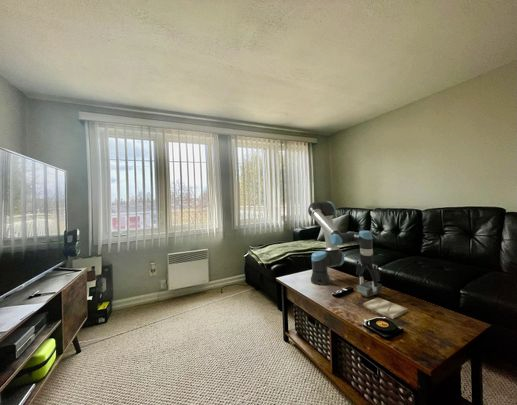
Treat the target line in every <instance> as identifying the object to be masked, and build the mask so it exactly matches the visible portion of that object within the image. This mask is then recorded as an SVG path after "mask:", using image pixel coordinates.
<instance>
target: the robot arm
mask: <svg viewBox="0 0 517 405" xmlns="http://www.w3.org/2000/svg"><path fill="white" fill-rule="evenodd" d="M307 209H308V210H307V212H308V215H309V216H310V218H311V219H313V220H315V222H316V223H317V224H318V225H319V226H320V227H321V228H322V229H323V236H324V241H325V245H326V246H325V247H326V248H325V249H324V250H319V251H318V250H317V251H314V252H313V253H312V254H311V268H312V270H311V271H312V272H311V276H310V283H312V282H313V283H315V284H314V285H317V284H320V285H319V286H326V284H327V285H329V283H330V284H331V277H330V275H329V272H328V268H333V267H339V266H342V265H343V264H344V263H345V255H344V253H343V251H342V250H340V248H339V246H341V245H343V246H344V245H348V244H349V245H350V244H356V245H359V259H360V260H357V261H356V268H355V269H356V270H355V275H356V276H358V281H359V285H361V284H364V283H365V281H364V276H363V274H364V272H365V270H366V269H367V270H368V272H369V274H370V277H371V279H372V280H371V281H372V288H373V292H375V291H376V287H377V283H378V282H380V281H381V277H380V272H379V265H378V264H374V255H373V254H374V250H373V248H374V247H373V232H372V231H370V230H359V232H355V231H347V232H343V233H341V231H340V230H339V229H338V228H337V227H336V226H335V225H334V221H333V219H334V216H335V215H334V214H336V210H337V209H336V206H335V204H334V203H333V202H332V201H329V200H324V201H314V202H311V203H310V204H309V206H308V208H307ZM313 283H312V284H313Z"/></svg>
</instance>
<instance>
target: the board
mask: <svg viewBox="0 0 517 405" xmlns="http://www.w3.org/2000/svg"><path fill="white" fill-rule="evenodd" d="M362 304H363V307H365V308H367V309H370V310H372V311H375V312H377V313H379V314H380V315H383V316H386V317H388V318H390V319H391V320H393V319H395V318H398V317H400V316H401V315H404V314H405V313H407V312H409V310H408V308H407V307H404V306H403V305H399V304H397V303H393V302H392V301H388V300H387V299H383V298H381V297H375V298H373V299H370V300H368V301H366V302H363V303H362Z"/></svg>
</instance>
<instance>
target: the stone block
mask: <svg viewBox="0 0 517 405" xmlns="http://www.w3.org/2000/svg"><path fill="white" fill-rule="evenodd" d="M372 281H373V280H371V281H368V282H364V284H361V285H360V284H358V285H356V291H357V293H358V294H360V295H362V296H364V297H366V298H369V297H372V296H374V295H378V294H381V293H383V286H382V283H378V282H377V287H376V291H375V292H373V288H372Z"/></svg>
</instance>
